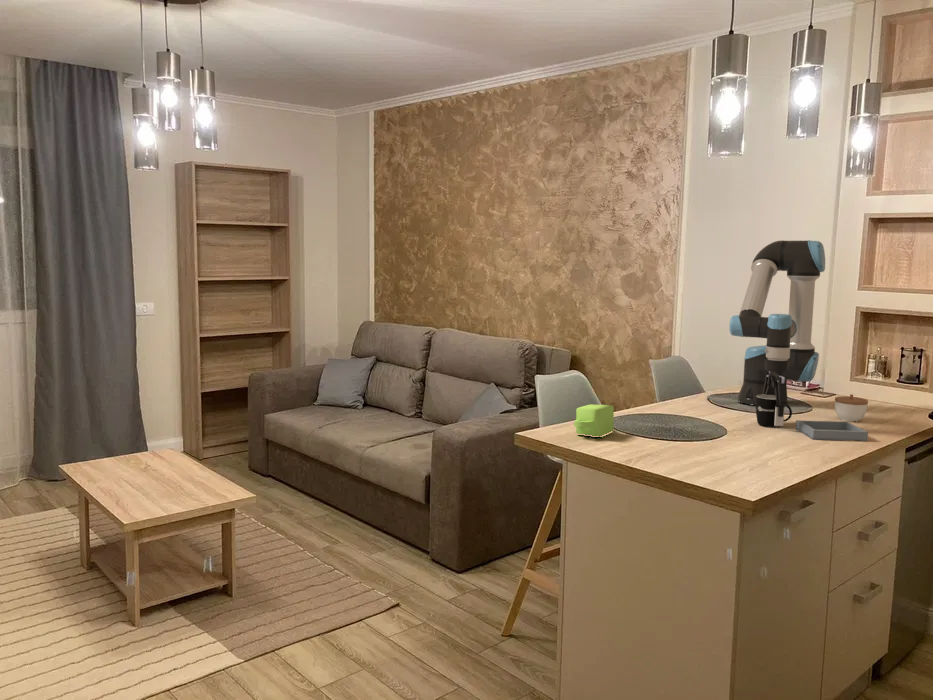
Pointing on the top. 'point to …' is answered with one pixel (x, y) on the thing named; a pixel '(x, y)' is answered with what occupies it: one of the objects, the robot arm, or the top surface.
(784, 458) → the top surface
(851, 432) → the gray tray
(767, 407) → the mug
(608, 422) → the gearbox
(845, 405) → the lidded jar
